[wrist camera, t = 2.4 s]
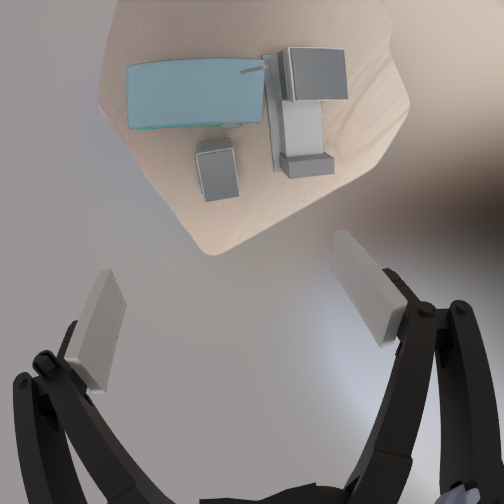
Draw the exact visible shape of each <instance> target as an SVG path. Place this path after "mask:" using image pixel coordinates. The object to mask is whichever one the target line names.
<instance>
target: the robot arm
mask: <svg viewBox="0 0 504 504" xmlns="http://www.w3.org/2000/svg"><path fill="white" fill-rule="evenodd" d="M332 271H333V272H334V274H335V275H336V277H337V279H338V280H339V282H340V283H341V285H342V286H343V288H344V289H345V291H346V293H347V294H348V296H349V297H350V299H351V301H352V302H353V304H354V305H355V307H356V309H357V310H358V312H359V313H360V315H361V317H362V318H363V320H364V322H365V323H366V325H367V327H368V328H369V330H370V332H371V333H372V335H373V337H374V338H375V340H376V342H377V343H378V345H379V347H380V348H383V347H385V346H388V345H391V344H393V343H394V341H395V338H396V336H397V337H398V338H399V340H400V344H399V346H398V348H397V351H396V353H395V355H396V358H395V361H394V366H393V369H392V372H391V376H390V379H389V382H388V385H387V388H386V392H385V395H384V398H383V401H382V404H381V406H380V409H379V412H378V415H377V417H376V420H375V423H374V425H373V428H372V431H371V433H370V436H369V438H368V440H367V443H366V445H365V447H364V450H363V452H362V454H361V457H360V459H359V461H358V463H357V465H356V467H355V469H354V470H353V472H352V474H351V475H350V477H349V479H348V481H347V483H346V485H345V487H344V489H339V488H336V487H330V486H316V483H311V484H308V485H303V486H300V487H295V488H291V489H286V490H284V491H282V492H280V493H277V494H275V495H272V496H270V497H268V498H265V499H262V500H259V501H252V500H242V499H233V498H219V499H200V504H397V503H398V501H399V498H400V496H401V494H402V491H403V489H404V486H405V484H406V481H407V478H408V476H409V473H410V470H411V467H412V462H413V459H412V458H411V453H412V450H413V447H414V443H415V440H416V437H417V433H418V430H419V426H420V422H421V418H422V414H423V410H424V406H425V401H426V397H427V392H428V386H429V381H430V376H431V370H432V364H433V356H434V350H435V357H436V366H437V374H438V385H439V396H440V416H441V457H440V481H439V484H440V495H441V496H440V497H439V498H438V499H437V500H436V502H435V504H504V465H503V461H502V459H501V440H500V429H499V419H498V411H497V404H496V399H495V392H494V387H493V382H492V377H491V372H490V368H489V364H488V359H487V355H486V352H485V348H484V344H483V340H482V337H481V334H480V330H479V327H478V324H477V321H476V318H475V315H474V312H473V309H472V307H471V306H470V305H469V304H468V303H467V302H465V301H462V300H455V301H453V302H452V303H451V305H450V307H449V309H436V308H435V306H434V305H432V304H431V303H428V302H424V301H420V300H419V299H418V298H417V296H416V295H415V294H414V293H413V292H412V290H411V289H410V288H409V287H408V286H407V285H406V284H405V282H404V281H403V280H401V278H400V277H399V275H398V274H397V273H395V272H394V271H392V270H391V269H389V268H386V269H381V268H380V267H379V266H378V265H377V264H376V263H375V262H374V260H373V259H372V258H371V257H370V256H369V255H368V253H367V252H366V251H365V250H364V249H363V248H362V247H361V246H360V244H359V243H358V242H357V241H356V240H355V239H354V238H353V237H352V236H351V234H350V233H349V232H348V231H347V230H341V231H335V232H334V248H333V265H332ZM126 305H127V304H126V302H125V300H124V298H123V295H122V293H121V291H120V289H119V286H118V284H117V282H116V279H115V278H114V275H113V272H112V270H111V269H108V270H102V271H100V272H99V274H98V277H97V278H96V281H95V283H94V285H93V287H92V289H91V291H90V294H89V296H88V298H87V300H86V303H85V305H84V307H83V310H82V312H81V315H80V317H79V319H78V320H76V321H73V322H72V324H71V325H70V326H69V327H68V329H67V332H66V334H65V337H64V339H63V343H62V344H61V347H60V349H59V352H58V355H57V358H56V357H55V356H54V354H53V353H52V352H51V351H49V350H44V351H42V352H40V353H39V354H38V355H37V356H36V357H35V358H34V361H33V365H32V366H33V369H34V370H35V371H36V372H37V373H38V374H39V376H37V377H34V378H32V377H31V376H30V375H29V373H27V372H23V373H21V374H19V375H18V376H17V377H16V378H15V380H14V382H13V408H14V422H15V433H16V442H17V449H18V456H19V462H20V467H21V473H22V477H23V482H24V486H25V490H26V494H27V498H28V502H29V504H88V503H87V501H86V499H85V496H84V493H83V491H82V488H81V485H80V482H79V480H78V477H77V474H76V471H75V468H74V464H73V461H72V458H71V454H70V451H69V447H68V443H67V439H66V435H65V431H66V434H67V435H68V438H69V440H70V441H71V443H72V445H73V447H74V449H75V451H76V452H77V454H78V456H79V458H80V459H81V461H82V463H83V464H84V466H85V467H86V469H87V471H88V472H89V474H90V476H91V477H92V478H93V480H94V481H95V483H96V485H97V486H98V488H99V489H100V490H101V492H102V493H103V495H104V496H105V497H106V499H107V501H108V503H107V504H175V503H174V502H173V501H172V500H170V499H169V498H168V497H166V496H165V495H164V494H163V493H162V492H161V491H160V490H159V489H158V488H157V486H156V485H155V484H154V483H153V482H152V481H151V480H150V479H149V478H148V477H147V475H146V474H145V473H144V472H143V471H142V469H141V468H140V467H139V466H138V465H137V464H136V462H135V461H134V460H133V459H132V457H131V456H130V455H129V454H128V452H127V451H126V450H125V449H124V447H123V446H122V445H121V443H120V442H119V440H118V439H117V438H116V436H115V435H114V434H113V432H112V431H111V429H110V428H109V426H108V425H107V424H106V422H105V421H104V419H103V418H102V416H101V415H100V413H99V411H98V410H97V408H96V407H95V405H94V404H93V402H92V400H91V399H90V397H89V396H88V395H87V394H86V390H87V387H88V388H89V389H90V390H91V391H92V392H93V393H106V391H107V385H108V380H109V375H110V370H111V366H112V361H113V357H114V352H115V347H116V344H117V339H118V335H119V332H120V327H121V324H122V320H123V316H124V312H125V309H126ZM64 430H65V431H64Z"/></svg>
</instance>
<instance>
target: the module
mask: <svg viewBox="0 0 504 504" xmlns="http://www.w3.org/2000/svg"><path fill="white" fill-rule="evenodd" d="M195 161H196V167H197V172H198V177H199V182H200V188H201V193H202V194H203V197H204V202H209V201H214V200H220V199H226V198H232V197H238V196H240V191H239V184H238V177H237V170H236V162H235V155H234V148H233V145H232V143H231V141H230V138H227V139H220V140H214V141H209V142H203V143H198V145H197V149H196V157H195Z"/></svg>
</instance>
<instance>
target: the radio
mask: <svg viewBox="0 0 504 504" xmlns="http://www.w3.org/2000/svg"><path fill="white" fill-rule="evenodd" d="M267 68H268V66H267V65H265V60H263V59H244V58H202V59H182V60H169V61H159V62H150V63H143V64H136V65H130V66H127V70H126V90H127V120H128V128H129V129H134V128H136V130H148V129H155V128H167V127H181V126H201V125H218V126H219V127H221V128H233V127H240V126H242V123H261V122H262V120H263V102H264V80H265V70H266V69H267Z"/></svg>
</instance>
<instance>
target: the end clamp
mask: <svg viewBox="0 0 504 504" xmlns="http://www.w3.org/2000/svg"><path fill="white" fill-rule="evenodd" d="M279 159H280V168H281V169H282V171H283V172H284V173H285V174H286V175H287V176H288V177H289V178H290V179H293V178H301V177H309V176H318V175H327V174H334V158H333V157H332V156H330V155H328V154H327V153H325V152H324V154H314V155H303V156H294V157H286V156H285V155H284V154H282V153H279Z"/></svg>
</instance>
